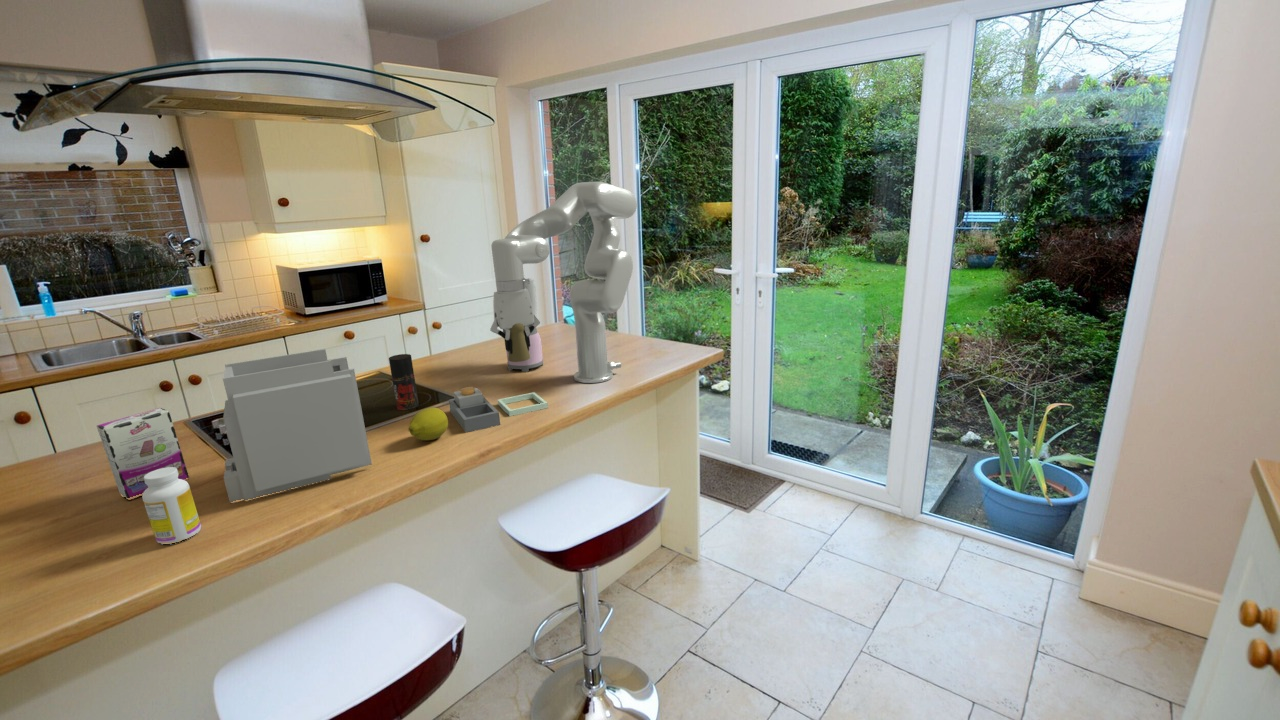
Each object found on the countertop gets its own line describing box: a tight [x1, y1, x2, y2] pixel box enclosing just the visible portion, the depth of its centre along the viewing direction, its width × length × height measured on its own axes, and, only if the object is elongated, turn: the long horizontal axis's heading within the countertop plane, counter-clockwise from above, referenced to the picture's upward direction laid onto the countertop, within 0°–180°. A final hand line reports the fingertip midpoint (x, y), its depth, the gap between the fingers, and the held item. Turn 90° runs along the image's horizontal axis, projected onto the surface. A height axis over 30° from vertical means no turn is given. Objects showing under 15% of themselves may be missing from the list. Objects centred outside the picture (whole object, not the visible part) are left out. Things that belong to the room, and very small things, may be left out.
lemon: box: [408, 407, 449, 441], centre depth 143 cm, size 11×8×8 cm
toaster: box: [222, 348, 373, 503], centre depth 124 cm, size 17×27×26 cm, turn 123°
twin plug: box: [453, 386, 484, 408], centre depth 160 cm, size 6×6×7 cm
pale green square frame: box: [497, 391, 549, 417], centre depth 164 cm, size 11×11×2 cm
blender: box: [505, 275, 544, 373], centre depth 199 cm, size 16×12×32 cm
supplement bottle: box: [141, 467, 202, 544], centre depth 104 cm, size 7×7×13 cm
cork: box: [507, 323, 530, 362], centre depth 159 cm, size 6×6×11 cm
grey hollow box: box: [448, 395, 501, 433], centre depth 157 cm, size 18×9×4 cm, turn 30°
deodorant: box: [388, 353, 419, 411], centre depth 166 cm, size 6×6×15 cm
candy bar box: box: [96, 407, 190, 498], centre depth 123 cm, size 11×5×16 cm, turn 148°
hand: (518, 350), depth 160 cm, fingers closed on cork, 3 cm apart
